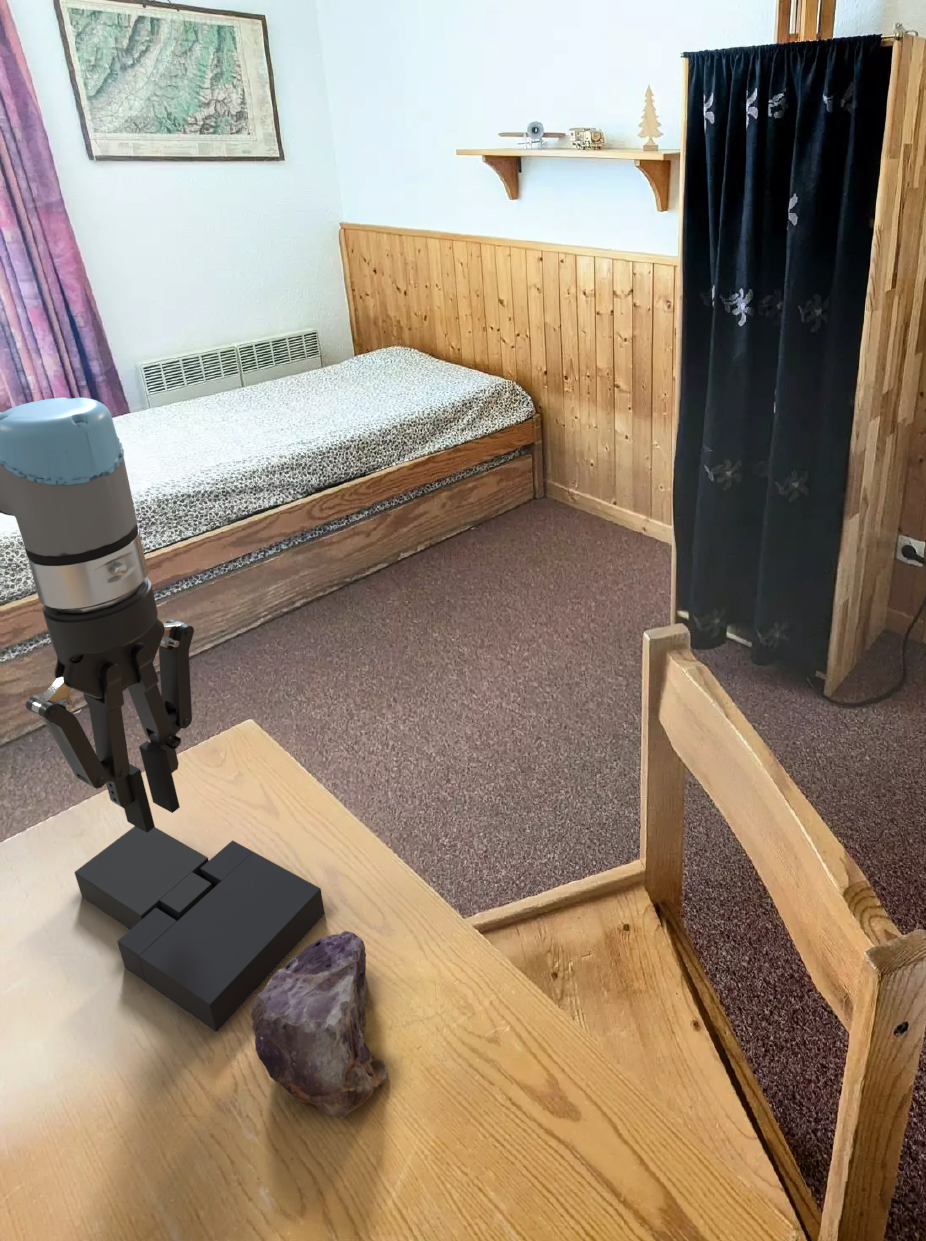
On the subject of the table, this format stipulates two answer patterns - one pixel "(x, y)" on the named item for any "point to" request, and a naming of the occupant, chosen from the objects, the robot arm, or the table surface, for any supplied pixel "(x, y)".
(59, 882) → the table surface
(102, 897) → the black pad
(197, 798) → the table surface
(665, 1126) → the table surface
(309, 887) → the dock pad
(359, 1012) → the rock
